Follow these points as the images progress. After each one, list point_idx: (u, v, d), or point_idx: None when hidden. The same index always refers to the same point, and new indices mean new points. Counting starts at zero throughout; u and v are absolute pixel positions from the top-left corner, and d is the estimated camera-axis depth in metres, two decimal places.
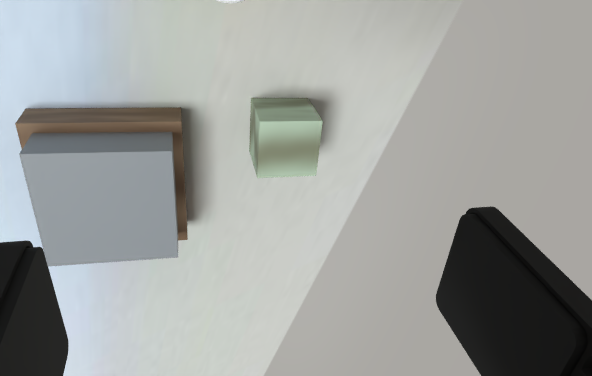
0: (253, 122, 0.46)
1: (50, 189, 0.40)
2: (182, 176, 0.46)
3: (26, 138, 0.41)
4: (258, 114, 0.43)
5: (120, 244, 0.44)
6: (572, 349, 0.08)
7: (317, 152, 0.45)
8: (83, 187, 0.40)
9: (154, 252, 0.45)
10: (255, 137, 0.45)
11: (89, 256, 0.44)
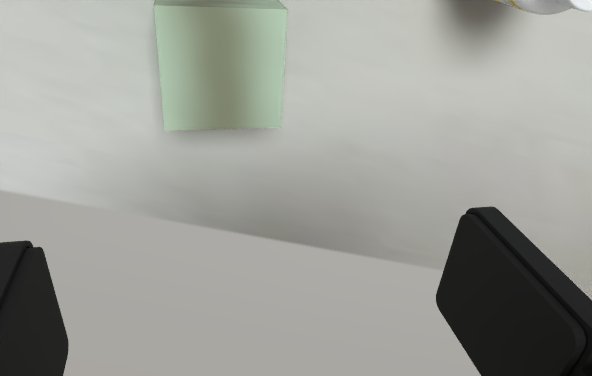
0: None
1: None
2: None
3: None
4: None
5: None
6: (572, 349, 0.08)
7: (217, 126, 0.24)
8: None
9: None
10: None
11: None
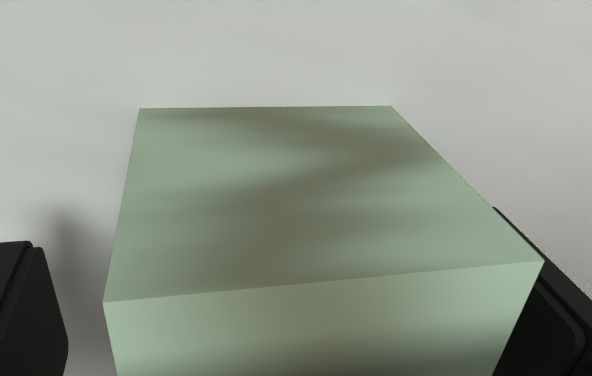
0: (351, 147, 0.09)
1: None
2: None
3: None
4: None
5: None
6: (572, 349, 0.08)
7: None
8: None
9: None
10: (332, 192, 0.08)
11: None
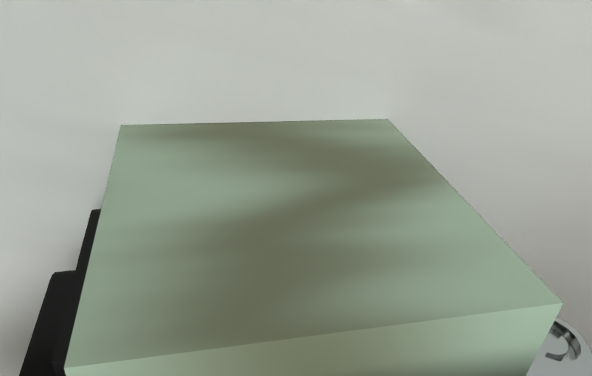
0: (348, 169, 0.09)
1: None
2: None
3: None
4: None
5: None
6: None
7: None
8: None
9: None
10: (328, 223, 0.07)
11: None
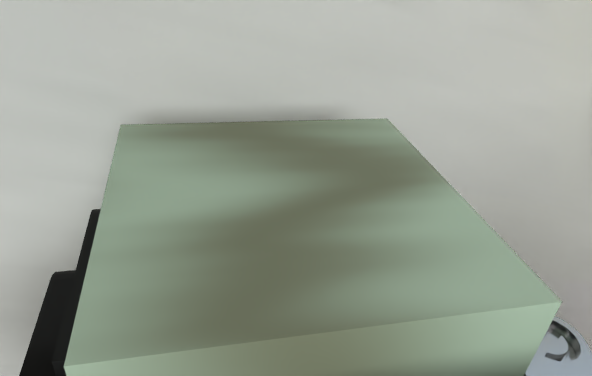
0: (347, 168, 0.09)
1: None
2: None
3: None
4: None
5: None
6: None
7: None
8: None
9: None
10: (327, 222, 0.07)
11: None
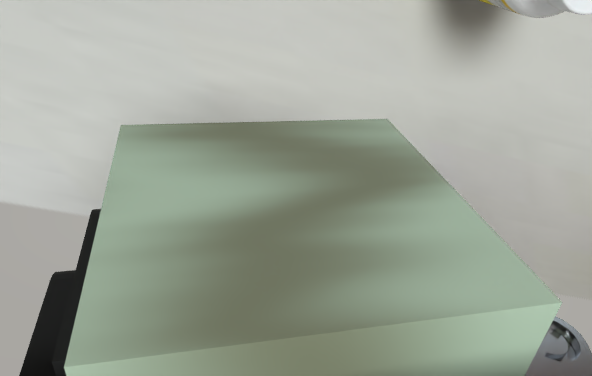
0: (347, 168, 0.09)
1: None
2: None
3: None
4: None
5: None
6: None
7: None
8: None
9: None
10: (327, 222, 0.07)
11: None
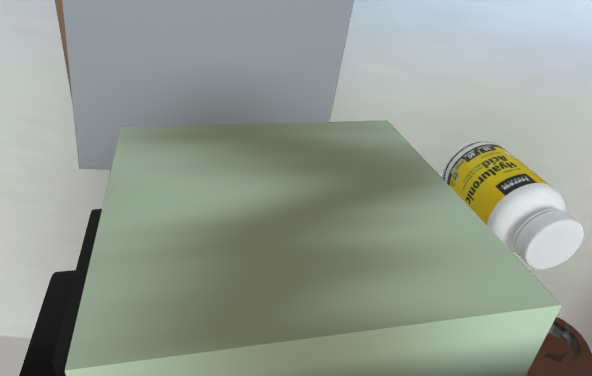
0: (347, 170, 0.09)
1: None
2: None
3: None
4: None
5: (120, 62, 0.20)
6: None
7: None
8: (277, 24, 0.20)
9: (94, 126, 0.21)
10: (327, 225, 0.07)
11: None
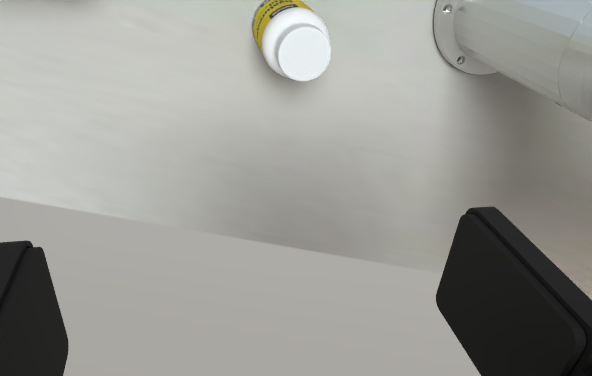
0: None
1: None
2: None
3: None
4: None
5: None
6: (572, 349, 0.08)
7: None
8: None
9: None
10: None
11: None
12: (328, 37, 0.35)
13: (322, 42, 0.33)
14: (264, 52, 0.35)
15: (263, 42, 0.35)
